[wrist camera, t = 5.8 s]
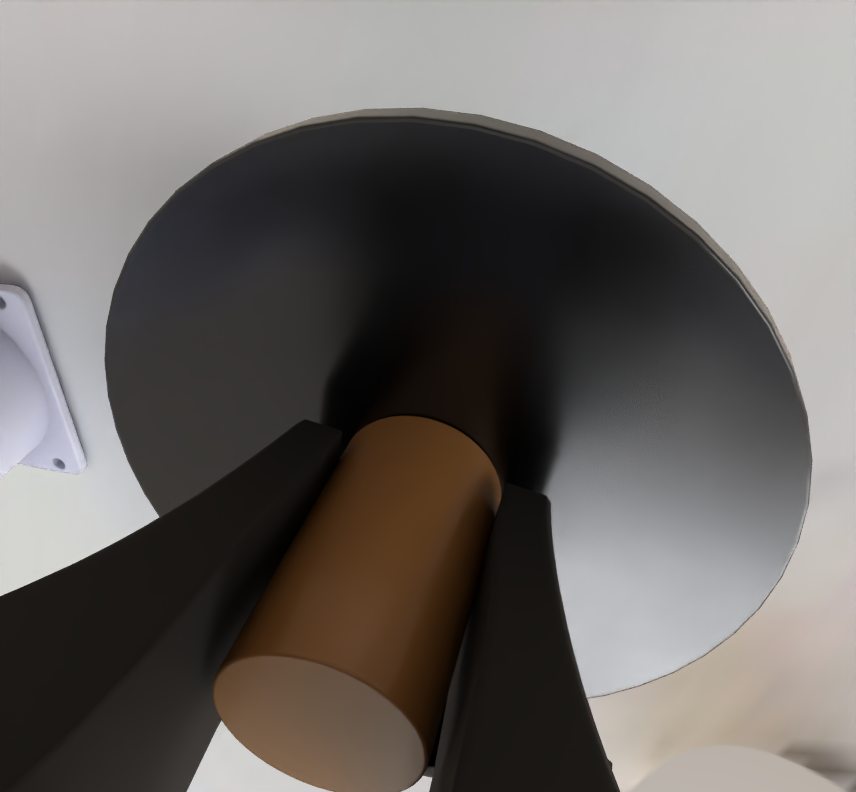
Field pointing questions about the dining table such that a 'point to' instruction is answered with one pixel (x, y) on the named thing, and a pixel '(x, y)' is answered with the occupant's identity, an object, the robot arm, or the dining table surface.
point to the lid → (455, 413)
